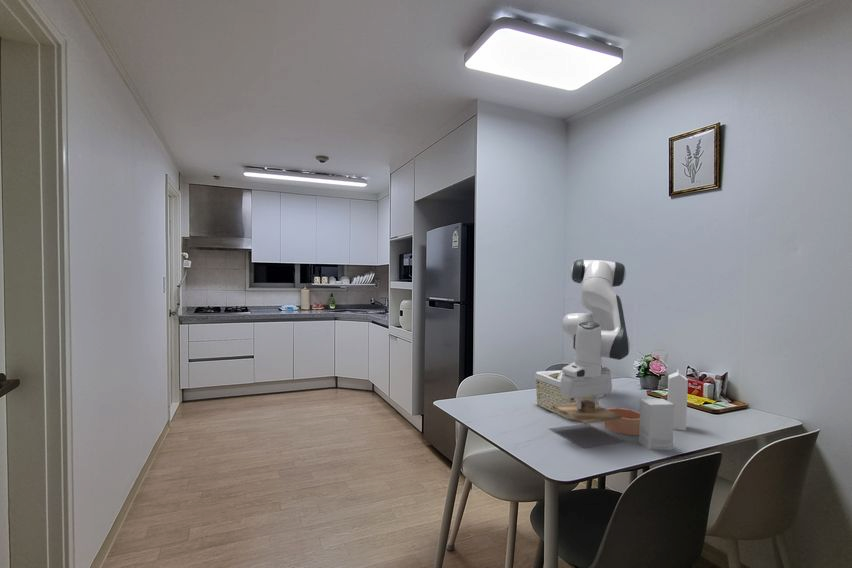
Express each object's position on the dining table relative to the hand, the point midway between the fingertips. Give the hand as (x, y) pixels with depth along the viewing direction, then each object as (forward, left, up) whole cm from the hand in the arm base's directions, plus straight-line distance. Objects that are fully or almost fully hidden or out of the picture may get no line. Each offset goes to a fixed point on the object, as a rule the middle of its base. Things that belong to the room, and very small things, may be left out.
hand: (586, 407), depth 147 cm
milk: (+3, +41, -10) cm, 42 cm away
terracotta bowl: (-1, +19, -10) cm, 21 cm away
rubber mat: (0, 0, -10) cm, 10 cm away
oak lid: (0, 0, -2) cm, 2 cm away
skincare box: (+15, +16, -10) cm, 24 cm away
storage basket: (-25, +12, -10) cm, 30 cm away
